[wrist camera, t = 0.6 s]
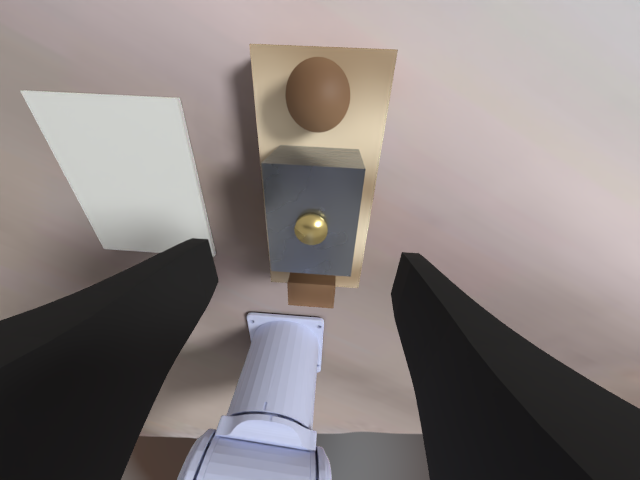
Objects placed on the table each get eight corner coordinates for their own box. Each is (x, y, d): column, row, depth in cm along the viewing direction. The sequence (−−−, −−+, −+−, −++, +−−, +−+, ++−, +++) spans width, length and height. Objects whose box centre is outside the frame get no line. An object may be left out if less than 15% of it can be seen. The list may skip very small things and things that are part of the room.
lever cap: (348, 239, 17) (351, 281, 13) (284, 234, 17) (269, 275, 13) (358, 149, 14) (366, 171, 10) (280, 145, 14) (258, 165, 10)
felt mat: (216, 254, 21) (214, 256, 21) (107, 246, 22) (103, 248, 21) (179, 97, 15) (176, 98, 15) (27, 90, 15) (20, 90, 15)
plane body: (356, 268, 21) (361, 320, 16) (277, 262, 22) (260, 312, 17) (388, 56, 13) (416, 36, 9) (263, 51, 14) (221, 29, 9)
